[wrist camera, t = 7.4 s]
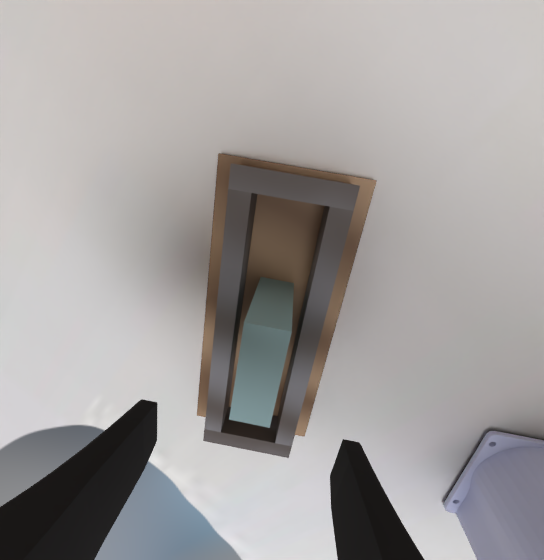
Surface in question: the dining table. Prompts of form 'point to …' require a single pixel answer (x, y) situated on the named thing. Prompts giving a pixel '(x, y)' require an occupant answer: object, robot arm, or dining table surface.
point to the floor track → (280, 266)
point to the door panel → (263, 352)
